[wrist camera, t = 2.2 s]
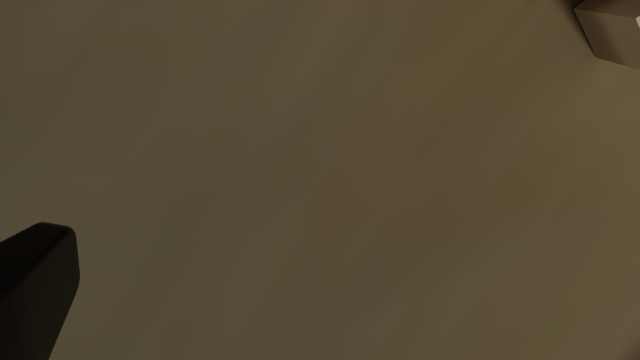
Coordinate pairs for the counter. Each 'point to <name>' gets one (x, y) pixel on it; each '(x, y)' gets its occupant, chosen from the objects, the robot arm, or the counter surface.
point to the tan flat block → (612, 29)
